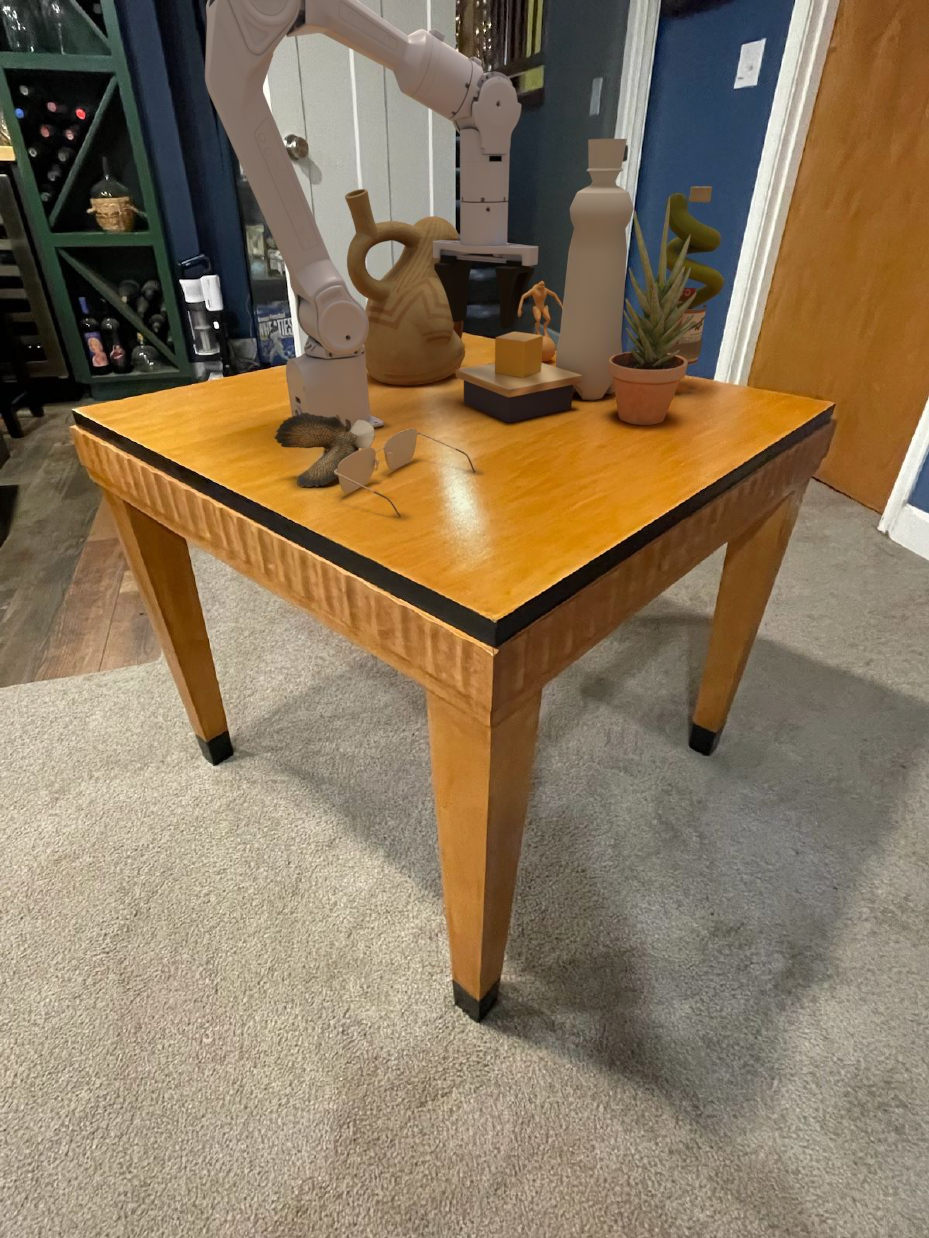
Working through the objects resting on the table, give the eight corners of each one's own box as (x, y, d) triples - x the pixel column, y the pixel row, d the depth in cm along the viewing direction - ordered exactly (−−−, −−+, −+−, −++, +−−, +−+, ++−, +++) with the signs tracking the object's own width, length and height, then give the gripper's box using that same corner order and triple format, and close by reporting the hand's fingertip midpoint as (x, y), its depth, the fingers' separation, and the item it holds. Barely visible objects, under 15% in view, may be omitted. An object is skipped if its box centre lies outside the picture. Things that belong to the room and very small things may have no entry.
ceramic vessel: (491, 374, 108) (494, 186, 94) (394, 399, 97) (380, 191, 83) (421, 356, 118) (414, 185, 104) (326, 377, 107) (304, 188, 93)
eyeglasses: (417, 457, 78) (418, 423, 75) (477, 477, 74) (480, 442, 72) (334, 500, 68) (332, 462, 66) (398, 525, 65) (398, 486, 62)
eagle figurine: (322, 441, 79) (262, 450, 72) (349, 392, 75) (288, 396, 68) (364, 488, 78) (307, 502, 71) (394, 441, 73) (337, 450, 66)
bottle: (541, 395, 98) (555, 139, 82) (572, 381, 104) (591, 141, 88) (598, 405, 94) (625, 137, 77) (628, 390, 100) (658, 139, 83)
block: (523, 378, 89) (524, 341, 86) (494, 373, 91) (495, 337, 88) (541, 371, 92) (543, 335, 89) (513, 366, 94) (514, 331, 91)
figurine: (524, 366, 112) (528, 285, 105) (510, 358, 116) (512, 280, 110) (570, 362, 114) (576, 282, 107) (554, 354, 119) (559, 277, 112)
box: (507, 425, 87) (508, 389, 84) (456, 403, 95) (455, 369, 93) (579, 409, 92) (582, 375, 90) (524, 389, 101) (525, 357, 98)
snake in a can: (661, 375, 107) (689, 185, 93) (717, 388, 100) (756, 186, 86) (611, 388, 101) (634, 187, 87) (668, 403, 94) (702, 189, 80)
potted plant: (588, 413, 91) (609, 194, 77) (645, 403, 94) (674, 192, 81) (637, 435, 83) (669, 197, 70) (696, 423, 87) (738, 195, 73)
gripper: (554, 202, 81) (546, 325, 88) (456, 199, 88) (456, 313, 95) (521, 204, 76) (516, 334, 83) (420, 201, 83) (424, 321, 91)
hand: (482, 324), depth 89 cm, fingers open, 7 cm apart
